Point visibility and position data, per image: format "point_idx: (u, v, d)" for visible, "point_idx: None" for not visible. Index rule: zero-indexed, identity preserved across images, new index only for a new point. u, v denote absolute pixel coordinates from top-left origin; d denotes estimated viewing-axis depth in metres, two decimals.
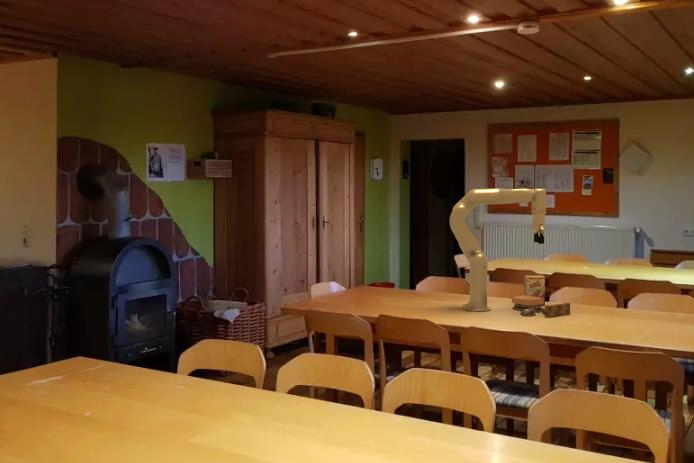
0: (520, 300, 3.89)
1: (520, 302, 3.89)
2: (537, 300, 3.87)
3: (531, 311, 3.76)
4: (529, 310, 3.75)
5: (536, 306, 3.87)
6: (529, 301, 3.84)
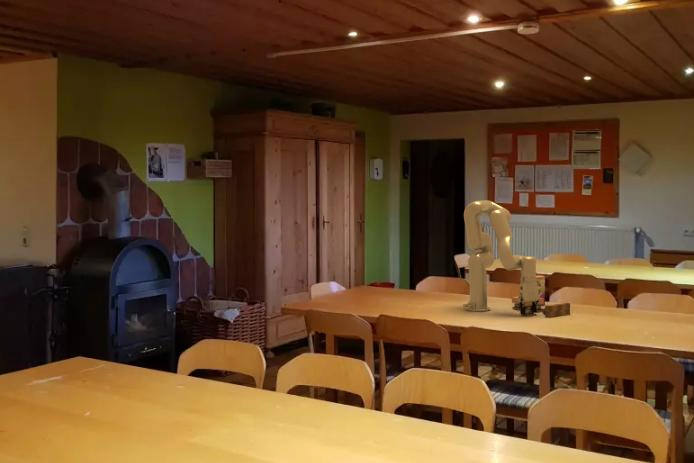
0: None
1: None
2: None
3: (530, 309, 3.76)
4: (528, 309, 3.76)
5: (536, 306, 3.87)
6: None
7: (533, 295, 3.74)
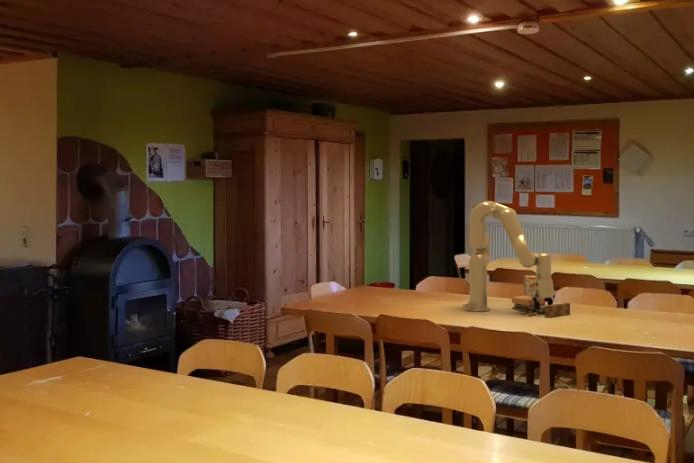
0: (520, 300, 3.89)
1: (520, 302, 3.89)
2: None
3: None
4: None
5: None
6: (529, 301, 3.84)
7: (548, 291, 3.79)
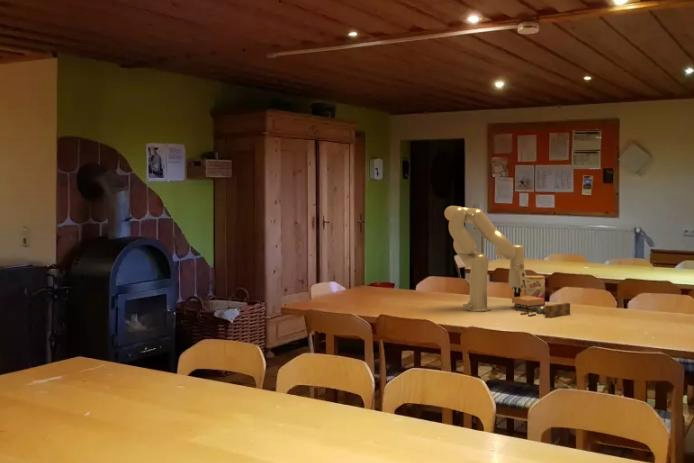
0: (520, 300, 3.89)
1: (520, 302, 3.89)
2: (537, 300, 3.87)
3: None
4: None
5: (536, 306, 3.87)
6: (529, 301, 3.84)
7: None
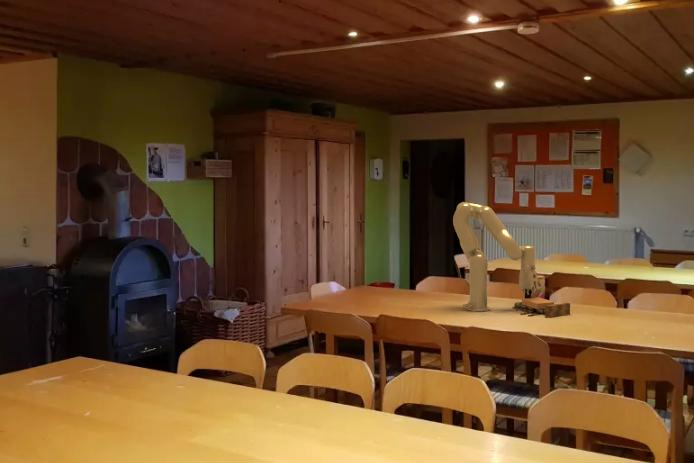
0: (529, 302, 3.82)
1: (529, 304, 3.82)
2: (547, 303, 3.79)
3: None
4: None
5: None
6: (538, 304, 3.77)
7: None
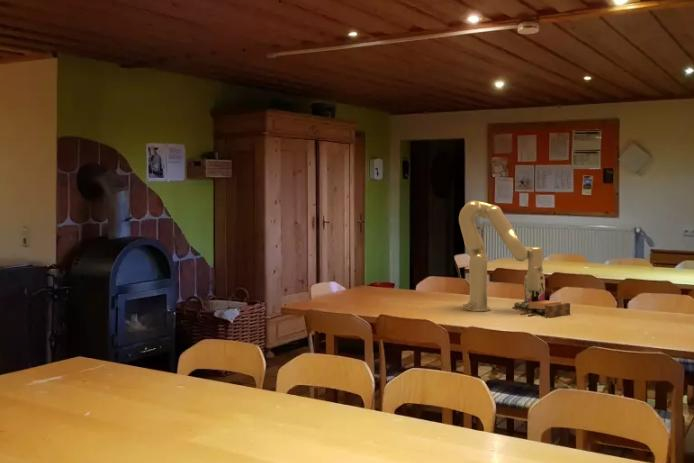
0: (537, 304, 3.77)
1: (537, 306, 3.77)
2: (554, 303, 3.74)
3: None
4: None
5: None
6: (545, 304, 3.72)
7: None
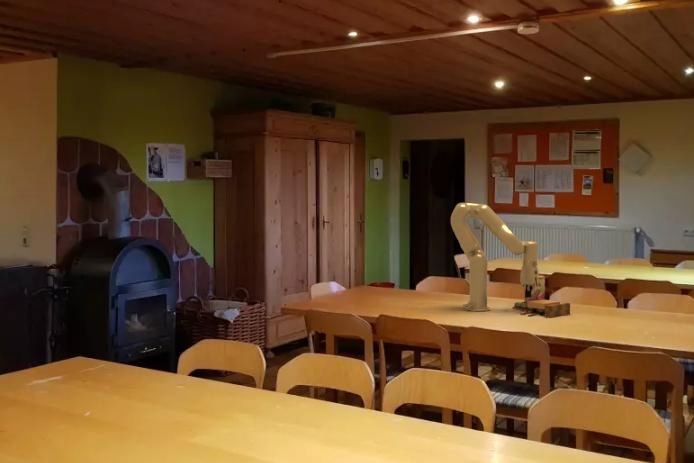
0: (536, 304, 3.78)
1: (536, 306, 3.78)
2: (553, 303, 3.75)
3: None
4: None
5: None
6: (545, 304, 3.73)
7: None
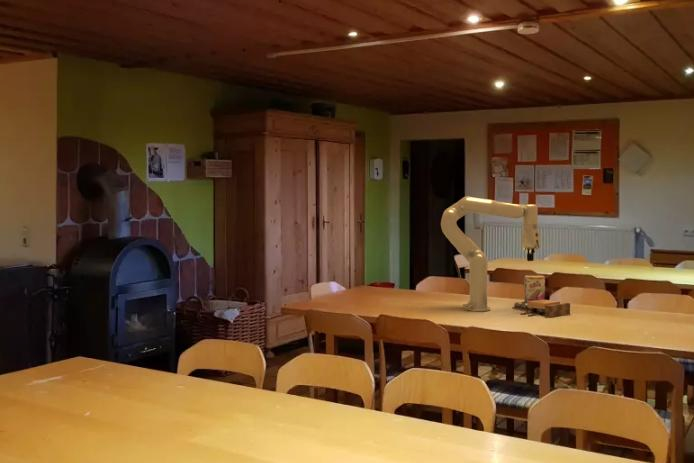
0: (536, 304, 3.78)
1: (536, 306, 3.78)
2: (553, 303, 3.76)
3: None
4: None
5: None
6: (545, 304, 3.73)
7: None
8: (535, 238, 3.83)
